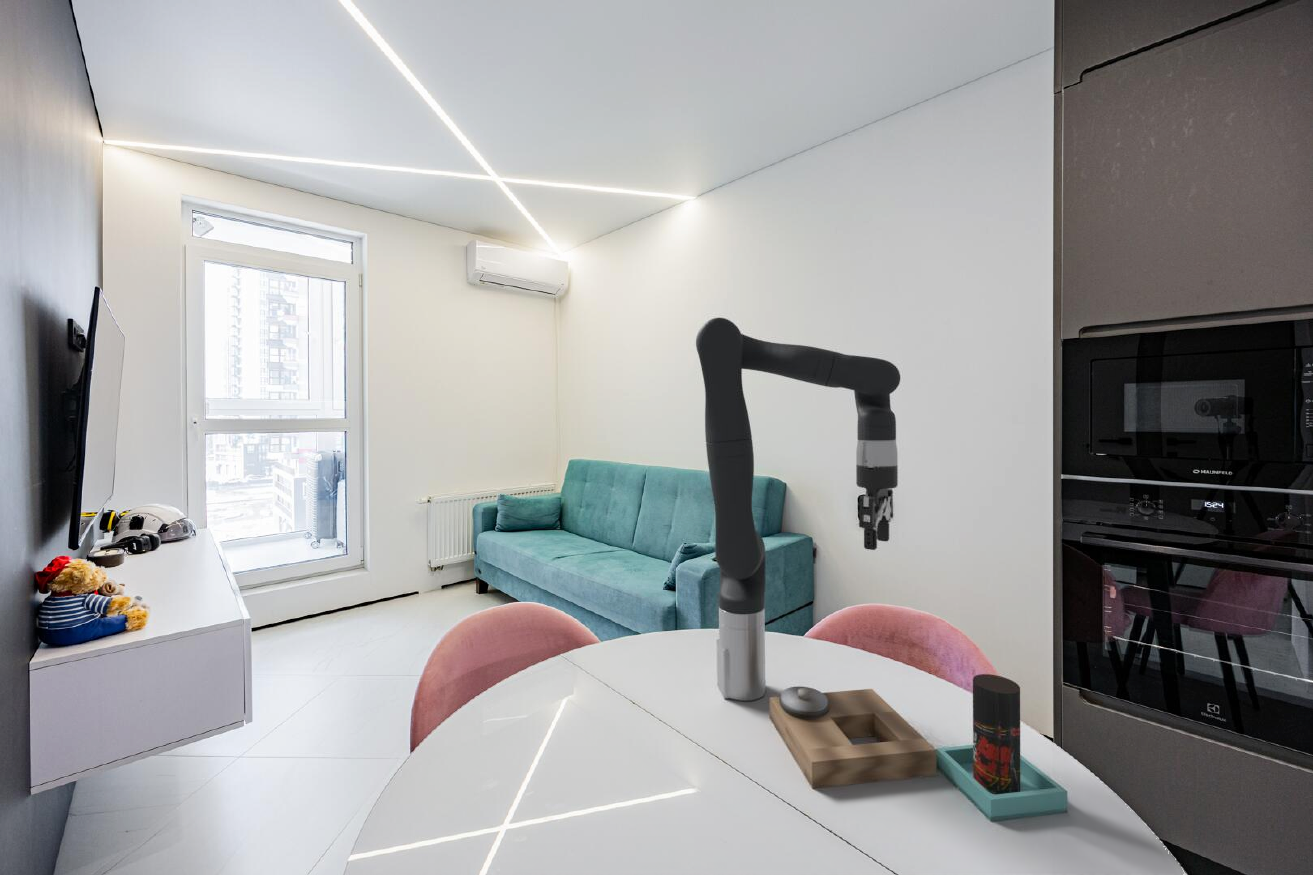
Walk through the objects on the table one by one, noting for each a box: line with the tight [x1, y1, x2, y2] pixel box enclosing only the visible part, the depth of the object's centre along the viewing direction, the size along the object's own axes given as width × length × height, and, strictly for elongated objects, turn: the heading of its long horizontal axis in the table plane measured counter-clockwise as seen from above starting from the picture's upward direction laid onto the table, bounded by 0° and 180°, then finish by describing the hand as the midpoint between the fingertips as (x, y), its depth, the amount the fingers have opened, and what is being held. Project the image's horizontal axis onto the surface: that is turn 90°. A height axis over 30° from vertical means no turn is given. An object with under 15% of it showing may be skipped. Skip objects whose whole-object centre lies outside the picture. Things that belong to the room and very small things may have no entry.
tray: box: [935, 744, 1068, 822], centre depth 79 cm, size 12×12×3 cm
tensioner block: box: [769, 686, 937, 789], centre depth 91 cm, size 20×19×7 cm
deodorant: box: [972, 673, 1021, 795], centre depth 79 cm, size 6×6×15 cm
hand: (877, 544), depth 106 cm, fingers open, 8 cm apart
